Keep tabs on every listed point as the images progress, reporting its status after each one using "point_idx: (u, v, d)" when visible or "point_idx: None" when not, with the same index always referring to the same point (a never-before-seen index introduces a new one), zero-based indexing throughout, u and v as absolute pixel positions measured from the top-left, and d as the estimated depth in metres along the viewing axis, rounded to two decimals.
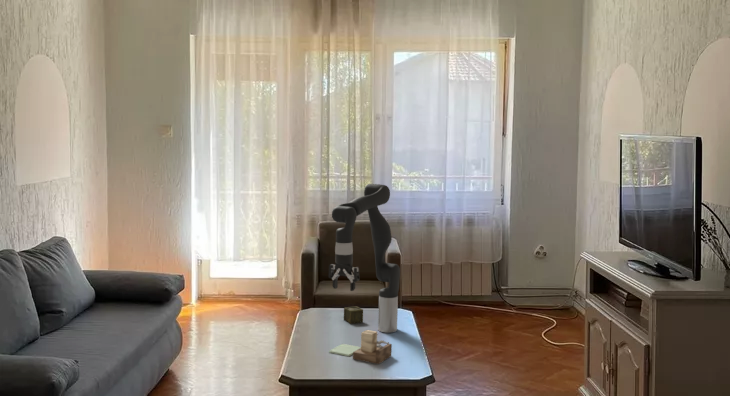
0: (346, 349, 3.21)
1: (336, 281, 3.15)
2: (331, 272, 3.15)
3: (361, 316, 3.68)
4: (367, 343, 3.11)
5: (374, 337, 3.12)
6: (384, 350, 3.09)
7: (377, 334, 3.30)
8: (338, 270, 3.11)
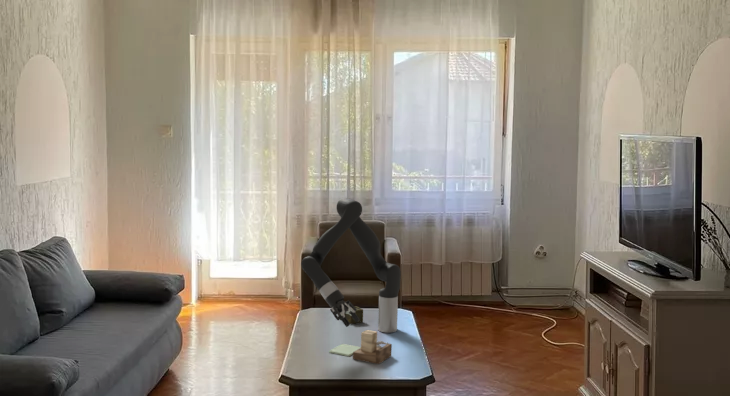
0: (346, 349, 3.21)
1: (354, 315, 3.21)
2: None
3: (361, 316, 3.68)
4: (367, 343, 3.11)
5: (374, 337, 3.12)
6: (384, 350, 3.09)
7: None
8: None
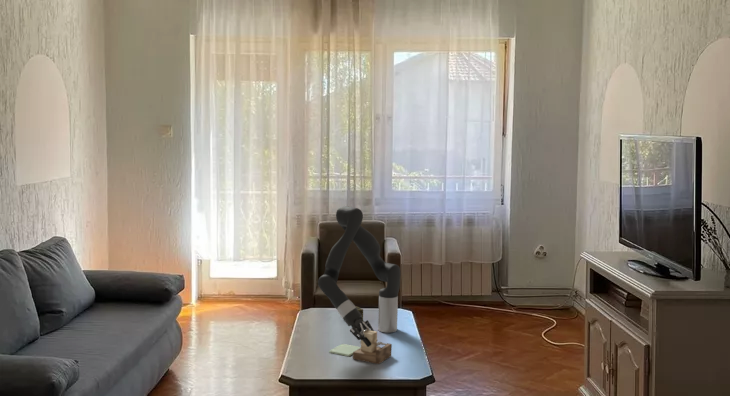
0: (346, 349, 3.21)
1: None
2: (367, 329, 3.19)
3: None
4: None
5: (374, 337, 3.12)
6: (384, 350, 3.09)
7: None
8: None
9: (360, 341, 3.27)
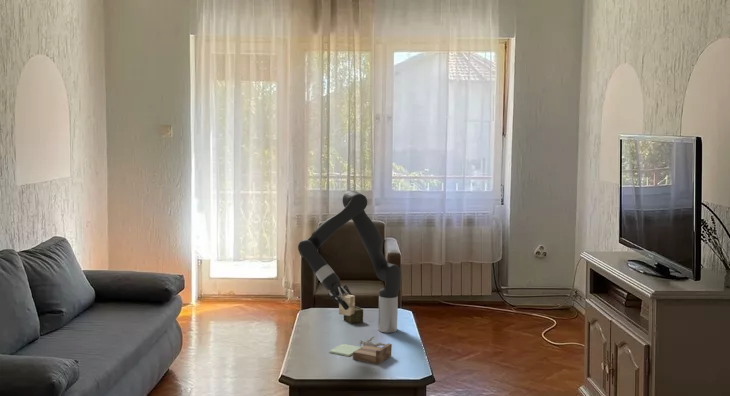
0: (346, 349, 3.21)
1: None
2: (345, 293, 3.25)
3: (361, 316, 3.68)
4: None
5: (352, 300, 3.18)
6: (384, 350, 3.09)
7: (373, 337, 3.26)
8: None
9: None
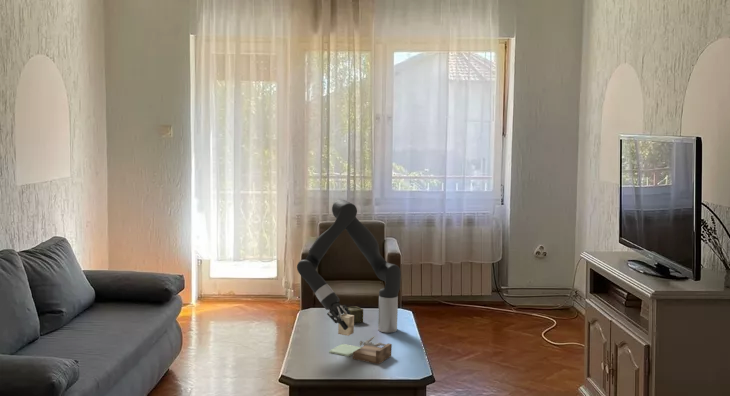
0: (346, 349, 3.21)
1: None
2: None
3: (361, 316, 3.68)
4: None
5: (351, 320, 3.19)
6: (384, 350, 3.09)
7: (373, 337, 3.26)
8: None
9: None
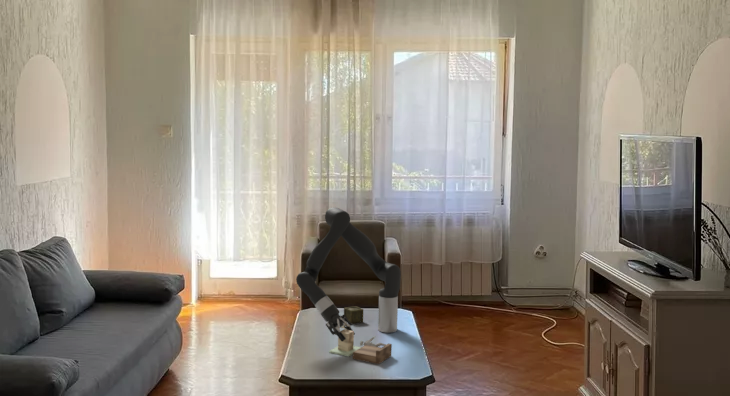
0: None
1: None
2: None
3: (361, 316, 3.68)
4: (343, 342, 3.19)
5: (350, 336, 3.20)
6: (384, 350, 3.09)
7: None
8: None
9: (360, 343, 3.24)
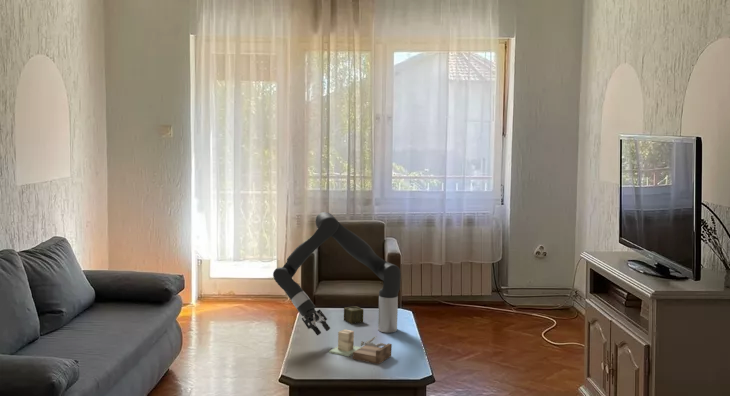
0: None
1: (324, 324, 3.31)
2: None
3: (361, 316, 3.69)
4: (343, 342, 3.19)
5: (350, 336, 3.20)
6: (384, 350, 3.09)
7: None
8: None
9: (361, 343, 3.24)
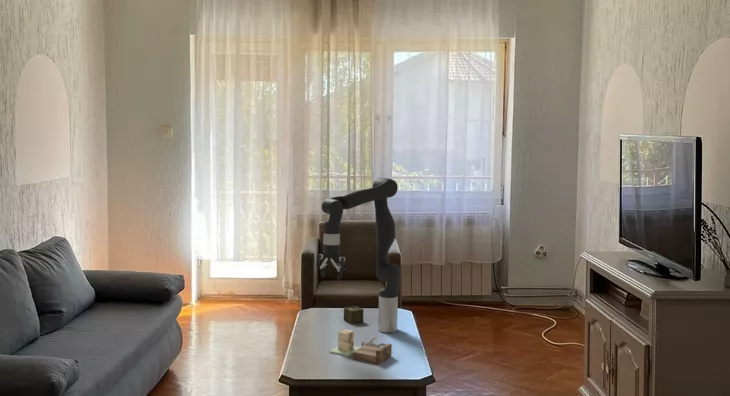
0: None
1: (324, 270, 3.33)
2: (319, 261, 3.32)
3: (361, 316, 3.69)
4: (343, 342, 3.19)
5: (350, 336, 3.20)
6: (384, 350, 3.09)
7: (375, 337, 3.25)
8: (326, 259, 3.29)
9: (362, 343, 3.24)
